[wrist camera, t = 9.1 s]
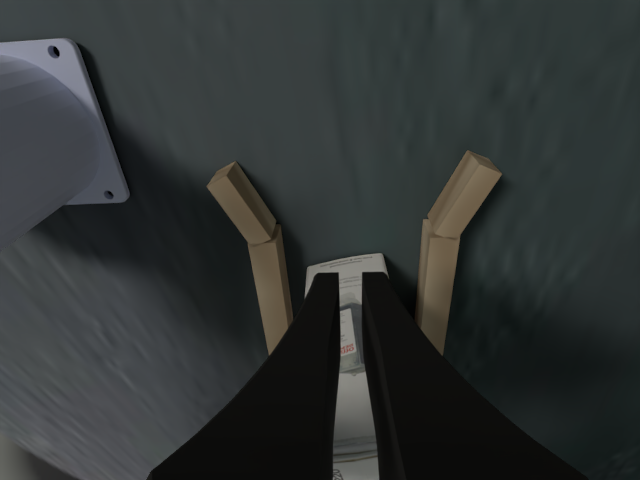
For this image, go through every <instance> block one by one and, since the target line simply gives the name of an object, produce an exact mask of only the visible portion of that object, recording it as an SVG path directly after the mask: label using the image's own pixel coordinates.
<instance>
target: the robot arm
mask: <svg viewBox="0 0 640 480" xmlns="http://www.w3.org/2000/svg"><path fill="white" fill-rule="evenodd" d="M54 46H55V47H56V48H58V50H59V52H60V56H59V57H58V56H57V55H56V54H55V53H54V51H53V47H54ZM108 191H110V192H112V194H113V196H111V195H109V194H108ZM129 196H130V192H129V189H128V186H127V183H126V180H125V178H124V175H123V172H122V169H121V166H120V163H119V160H118V158H117V155H116V152H115V149H114V146H113V143H112V141H111V138H110V135H109V132H108V129H107V126H106V123H105V121H104V118H103V115H102V112H101V109H100V106H99V104H98V101H97V98H96V95H95V92H94V89H93V86H92V84H91V81H90V78H89V75H88V72H87V69H86V67H85V64H84V61H83V58H82V55H81V52H80V50H79V48H78V46H77V44H76V43H75V42H74V41H72V40H70V39H68V38H58V39H44V40H30V41H16V42H2V43H0V252H1V251H2V250H3V249H5V248H6V247H7V246H9V245H10V244H11V243H13V242H14V241H16V240H17V239H18V238H20V237H21V236H22V235H24V234H25V233H26V232H28V231H29V230H30V229H32V228H33V227H34V226H36V225H37V224H38V223H40V222H41V221H42V220H44V219H45V218H47V217H48V216H49V215H51V214H52V213H53V212H55V211H56V210H57V209H59V208H60V207H61V206H63V205H77V204H102V203H122V202H125V201H126V200H127V199H128V198H129ZM362 344H363V358H364V365H365V371H366V378H367V384H368V390H369V396H370V403H371V409H372V415H373V421H374V428H375V435H376V444H377V456H378V470H379V480H589V479H588V478H587V477H586V476H584V475H583V474H581V473H580V472H579V471H577V470H576V469H574V468H573V467H572V466H570V465H569V464H567V463H566V462H564V461H563V460H562V459H560V458H559V457H557V456H556V455H555V454H553V453H552V452H550V451H549V450H548V449H546V448H545V447H543V446H542V445H540V444H539V443H538V442H536V441H535V440H534V439H532V438H531V437H530V436H529V435H527V434H526V433H525V432H524V431H522V430H521V429H520V428H519V427H517V426H516V425H515V424H514V423H512V422H511V421H510V420H509V419H508V418H506V417H505V416H504V415H503V414H502V413H501V412H500V411H499V410H497V409H496V408H495V407H494V406H493V405H492V404H491V403H489V402H488V401H487V400H486V399H485V398H484V397H483V396H482V395H480V394H479V393H478V392H477V391H476V390H475V389H474V388H473V387H472V386H471V385H470V384H469V383H468V382H467V381H466V380H465V379H464V378H463V377H462V376H461V375H460V374H459V373H458V372H457V371H456V370H455V369H454V368H453V367H452V366H451V365H450V364H449V363H448V361H447V360H446V359H445V358H444V357H443V356H442V355H441V354H440V352H439V351H438V350H437V349H436V348H435V346H434V345H433V344H432V343H431V342H430V340H429V339H428V338H427V337H426V335H425V334H424V333H423V331H422V330H421V329H420V327H419V326H418V325H417V323H416V322H415V320H414V319H413V318H412V316H411V315H410V313H409V312H408V310H407V309H406V308H405V306H404V304H403V303H402V301H401V300H400V298H399V296H398V295H397V293H396V291H395V290H394V288H393V286H392V284H391V282H390V280H389V278H388V276H387V274H385V273H384V272H362ZM340 360H341V329H340V294H339V272H328V273H317V274H316V275H315V276H314V278H313V281H312V284H311V286H310V289H309V291H308V293H307V295H306V297H305V299H304V301H303V303H302V305H301V307H300V309H299V310H298V312H297V314H296V316H295V318H294V319H293V321H292V323H291V324H290V326H289V328H288V329H287V331H286V332H285V334H284V335H283V337H282V338H281V340H280V341H279V343H278V344H277V346H276V347H275V349H274V350H273V351H272V353H271V354H270V355H269V357H268V358H267V359H266V361H265V362H264V363H263V364H262V366H261V367H260V368H259V369H258V371H257V372H256V373H255V374H254V375H253V377H252V378H251V379H250V380H249V381H248V382H247V383H246V385H245V386H244V387H243V388H242V389H241V390H240V391H239V392H238V394H237V395H236V396H235V397H234V398H233V399H232V400H231V401H230V402H229V403H228V404H227V405H226V406H225V407H224V408H223V409H222V410H221V411H220V412H219V413H218V414H217V415H216V416H214V417H213V418H212V419H211V420H210V421H209V422H208V423H207V424H206V425H205V426H204V427H203V428H202V429H201V430H200V431H199V432H198V433H196V434H195V435H194V436H193V437H192V438H191V439H190V440H188V441H187V442H186V443H185V444H184V445H182V446H181V447H180V448H179V449H178V450H176V451H175V452H174V453H173V454H171V455H170V456H169V457H168V458H167V459H165V460H164V461H163V462H162V463H161V464H159V465H158V466H157V467H156V468H154V469H153V470H152V471H151V472H150V474H149V476H148V477H147V479H146V480H333V441H334V425H335V414H336V403H337V393H338V382H339V371H340Z"/></svg>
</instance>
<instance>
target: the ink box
mask: <svg viewBox="0 0 640 480" xmlns="http://www.w3.org/2000/svg"><path fill="white" fill-rule="evenodd" d="M328 272H339V294H340V329H341V360H340V371H339V382H338V393H337V403H336V414H335V425H334V441H333V480H379V470H378V456H377V444H376V435H375V428H374V421H373V415H372V409H371V403H370V396H369V390H368V384H367V378H366V371H365V365H364V358H363V344H362V272H384V273H385V274H387V276H388V273H387V268H386V264H385V260H384V256H383V254H381V253H377V254H368V255H360V256H353V257H348V258H342V259H338V260H333V261H329V262H325V263H320V264H316V265H313V266H309V267H308V268H307V276H306V288H305V297H306V295H307V293H308V291H309V289H310V286H311V284H312V281H313V278H314V276H315V275H316V274H317V273H328ZM388 278H389V277H388Z"/></svg>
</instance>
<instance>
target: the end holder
mask: <svg viewBox="0 0 640 480" xmlns="http://www.w3.org/2000/svg"><path fill="white" fill-rule="evenodd" d="M501 175H502V173H501V172H500V171H499V170H498V169H497V168H496V167H495V165H494V164H493V163H492V162H491V161H490V160H489V159H488V158H485V157H483V156H480V155H478V154H476V153H473V152H471V151H469V150H467V152H466V153H465V155H464V157H463V158H462V160H461V161H460V163H459V165H458V166H457V168H456V170H455V171H454V173H453V174H452V176H451V178H450V179H449V181H448V183H447V184H446V186H445V187H444V189H443V191H442V192H441V194H440V196H439V197H438V199H437V200H436V202H435V204H434V205H433V207H432V209H431V210H430V212H429V213H428V215H427V216H428V218H429V219H423V226H422V238H421V250H420V261H419V273H418V285H417V297H416V308H415V322H416V323H417V325H418V326H419V327H420V329H421V330H422V331H423V333H424V334H425V335H426V337H427V338H428V339H429V340H430V342H431V343H432V344H433V345H434V346H435V348H436V349H437V350H438V351H439V352H440V354H441V355H442V356H443V351H444V344H445V337H446V331H447V324H448V317H449V310H450V303H451V297H452V290H453V283H454V276H455V269H456V262H457V256H458V249H459V242H460V234H461V233H462V232H463V230H464V229H465V227H466V226H467V224H468V223H469V221H470V220H471V219H472V217H473V216H474V214H475V213H476V211H477V210H478V208H479V207H480V206H481V204H482V203H483V201H484V200H485V198H486V197H487V195H488V194H489V192H490V191H491V190H492V188H493V187H494V185H495V184H496V182H497V181H498V179H499V178H500V177H501ZM206 187H207V188H208V189H209V191H210V192H211V193H212V195H213V196H214V197H215V199H216V200H217V201H218V203H219V204H220V205H221V207H222V208H223V210H224V211H225V212H226V214H227V215H228V216H229V218H230V219H231V220H232V222H233V223H234V224H235V226H236V227H237V228H238V230H239V231H240V232H241V234H242V235H243V236H244V238H245V239H246V240H247V242H248V248H249V254H250V259H251V264H252V269H253V275H254V280H255V285H256V290H257V295H258V301H259V306H260V311H261V316H262V322H263V327H264V332H265V337H266V342H267V348H268V353H269V355H270V354H271V353H272V351H273V350H274V349H275V347H276V346H277V344H278V343H279V341H280V340H281V338H282V337H283V335H284V334H285V332H286V331H287V329H288V328H289V326H290V324H291V323H292V321H293V313H292V305H291V298H290V290H289V283H288V276H287V268H286V261H285V253H284V246H283V239H282V231H281V224H276V219H275V218H274V216H273V215H272V213H271V212H270V211H269V209H268V208H267V206H266V205H265V203H264V202H263V200H262V199H261V197H260V196H259V194H258V193H257V191H256V190H255V188H254V187H253V186H252V184H251V183H250V181H249V180H248V178H247V177H246V175H245V174H244V172H243V171H242V169H241V168H240V166H239V165H238V163H237V162H236V161H235V162H233V163H231V164H229V165H227V166H226V167H224V168H222V169H220V170H218V171H217V172H216V174H215V175H214V176H213V178H212V179H211V181H210V182H209V183H208V185H207V186H206Z"/></svg>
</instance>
